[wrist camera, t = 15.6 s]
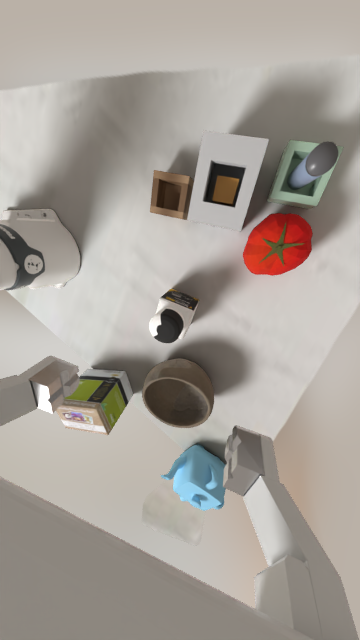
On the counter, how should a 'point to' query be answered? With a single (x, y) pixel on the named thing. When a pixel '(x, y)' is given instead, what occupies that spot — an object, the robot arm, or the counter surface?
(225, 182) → the button
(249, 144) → the grey hollow block
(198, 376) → the bowl
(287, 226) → the tomato
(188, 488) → the teapot
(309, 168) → the grey rod
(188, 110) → the counter surface
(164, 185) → the holder
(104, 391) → the tea box
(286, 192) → the rest socket
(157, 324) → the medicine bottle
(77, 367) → the robot arm
